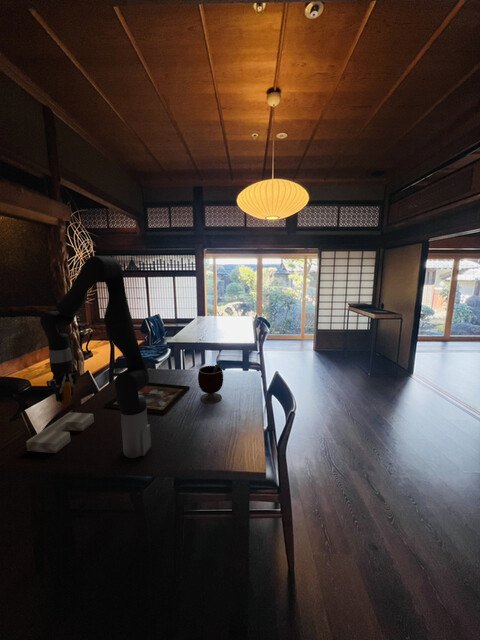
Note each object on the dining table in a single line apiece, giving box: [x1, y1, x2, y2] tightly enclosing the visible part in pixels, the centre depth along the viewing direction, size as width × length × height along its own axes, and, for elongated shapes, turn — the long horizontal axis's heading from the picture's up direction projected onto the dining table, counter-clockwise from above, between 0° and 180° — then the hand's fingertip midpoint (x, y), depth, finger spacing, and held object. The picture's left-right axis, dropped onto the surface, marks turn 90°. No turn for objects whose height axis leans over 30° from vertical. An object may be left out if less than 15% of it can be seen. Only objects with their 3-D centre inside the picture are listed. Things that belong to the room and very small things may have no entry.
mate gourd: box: [197, 360, 224, 405], centre depth 142 cm, size 16×14×20 cm
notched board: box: [26, 412, 95, 454], centre depth 109 cm, size 12×22×4 cm, turn 174°
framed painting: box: [103, 382, 190, 415], centre depth 144 cm, size 38×35×3 cm
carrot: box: [58, 374, 72, 408], centre depth 106 cm, size 5×5×15 cm
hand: (65, 398), depth 106 cm, fingers closed on carrot, 5 cm apart
